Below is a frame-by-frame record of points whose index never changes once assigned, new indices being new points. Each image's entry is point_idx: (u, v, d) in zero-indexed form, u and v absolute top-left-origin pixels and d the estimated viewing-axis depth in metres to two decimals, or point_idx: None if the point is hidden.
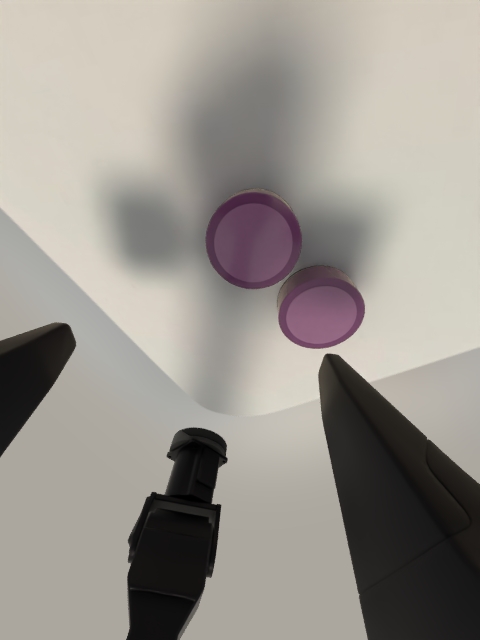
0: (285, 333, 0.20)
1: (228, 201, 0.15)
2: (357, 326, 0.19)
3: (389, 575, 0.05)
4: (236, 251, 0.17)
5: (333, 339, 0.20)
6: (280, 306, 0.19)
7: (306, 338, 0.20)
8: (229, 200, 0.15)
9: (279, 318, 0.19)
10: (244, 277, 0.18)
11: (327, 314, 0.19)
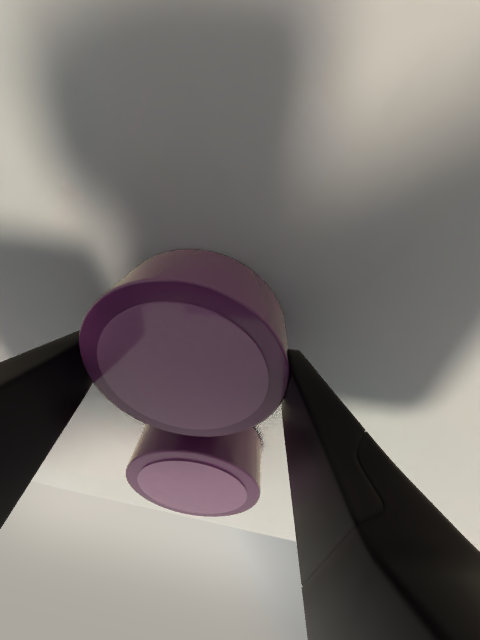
0: (128, 474, 0.11)
1: (209, 290, 0.06)
2: (222, 515, 0.13)
3: (320, 565, 0.05)
4: (146, 359, 0.07)
5: (184, 509, 0.13)
6: (150, 450, 0.10)
7: (152, 493, 0.12)
8: (213, 290, 0.06)
9: (135, 460, 0.11)
10: (126, 394, 0.08)
11: (202, 491, 0.12)
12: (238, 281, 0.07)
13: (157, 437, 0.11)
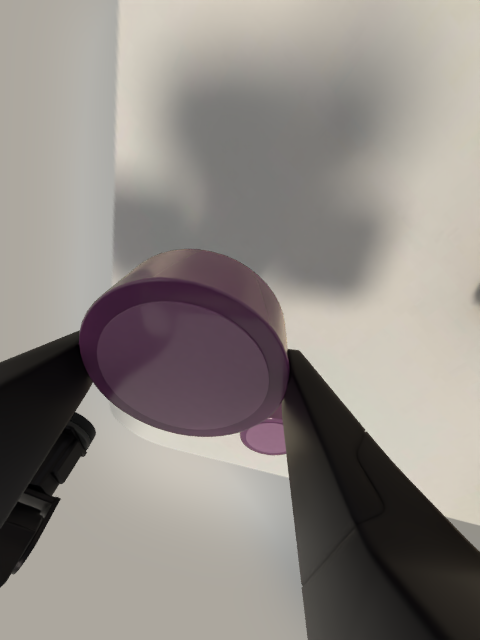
0: (242, 431, 0.25)
1: (209, 290, 0.06)
2: (282, 453, 0.26)
3: (320, 566, 0.05)
4: (146, 359, 0.07)
5: (263, 451, 0.26)
6: None
7: (251, 441, 0.25)
8: (213, 290, 0.06)
9: None
10: (126, 394, 0.08)
11: (276, 439, 0.25)
12: (238, 281, 0.07)
13: None
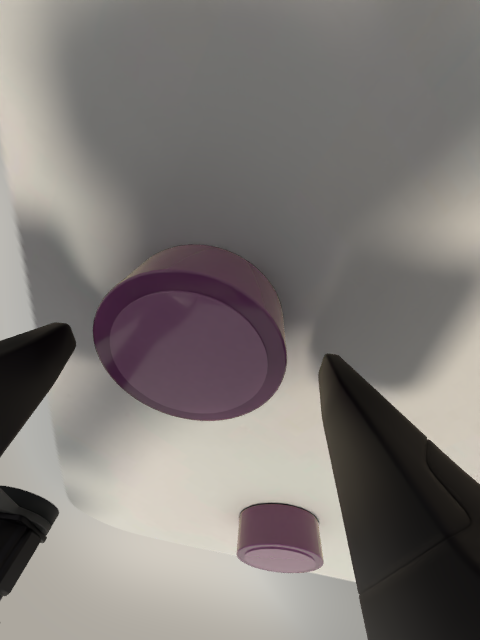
0: (239, 552, 0.18)
1: (214, 280, 0.06)
2: (293, 572, 0.20)
3: (389, 576, 0.05)
4: (155, 345, 0.08)
5: (267, 568, 0.20)
6: (260, 542, 0.17)
7: (251, 561, 0.19)
8: (217, 281, 0.06)
9: (249, 546, 0.17)
10: (135, 379, 0.09)
11: (285, 561, 0.18)
12: (240, 273, 0.07)
13: (262, 532, 0.17)
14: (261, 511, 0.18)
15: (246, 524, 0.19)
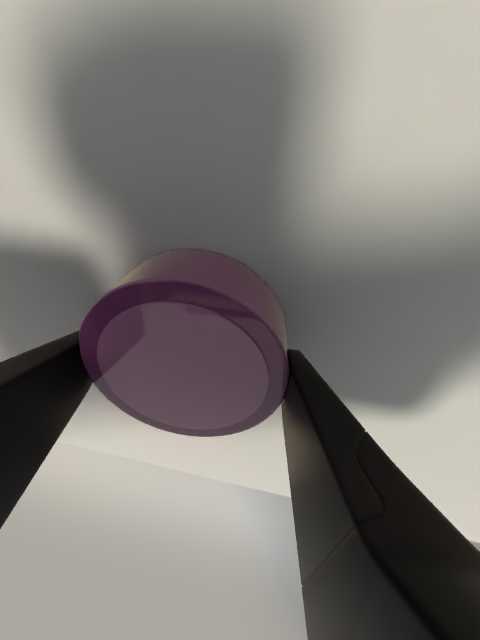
0: (83, 351, 0.07)
1: None
2: (229, 432, 0.09)
3: (320, 565, 0.05)
4: None
5: (172, 424, 0.09)
6: (112, 289, 0.06)
7: (124, 391, 0.08)
8: None
9: (89, 313, 0.07)
10: None
11: (199, 383, 0.08)
12: None
13: (125, 278, 0.07)
14: (142, 263, 0.08)
15: None
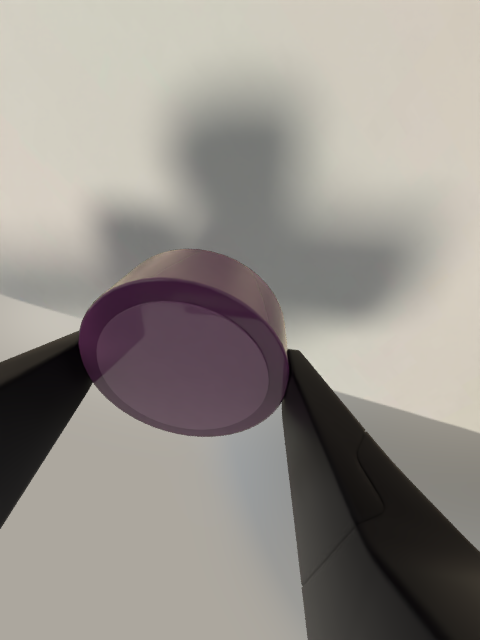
0: (82, 351, 0.07)
1: None
2: (228, 432, 0.09)
3: (320, 566, 0.05)
4: None
5: (172, 424, 0.09)
6: (112, 289, 0.06)
7: (123, 390, 0.08)
8: None
9: (89, 312, 0.07)
10: None
11: (199, 383, 0.08)
12: None
13: (125, 277, 0.07)
14: (142, 263, 0.08)
15: None
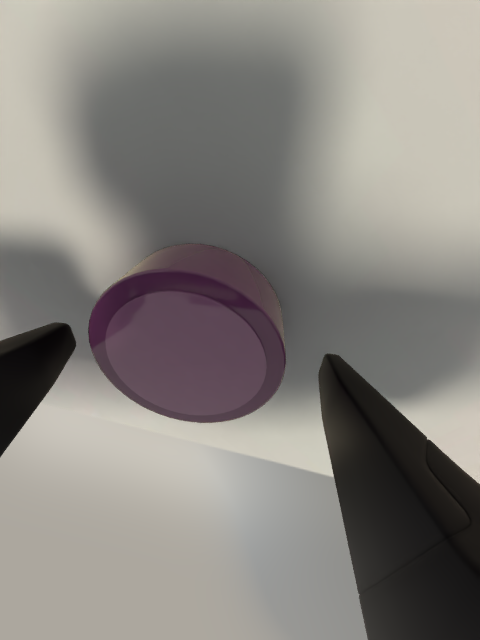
0: (92, 339, 0.08)
1: None
2: (229, 418, 0.09)
3: (389, 576, 0.05)
4: None
5: (175, 410, 0.09)
6: (121, 280, 0.07)
7: (130, 377, 0.09)
8: None
9: (99, 302, 0.07)
10: None
11: (201, 370, 0.08)
12: None
13: (133, 269, 0.07)
14: (148, 257, 0.08)
15: None
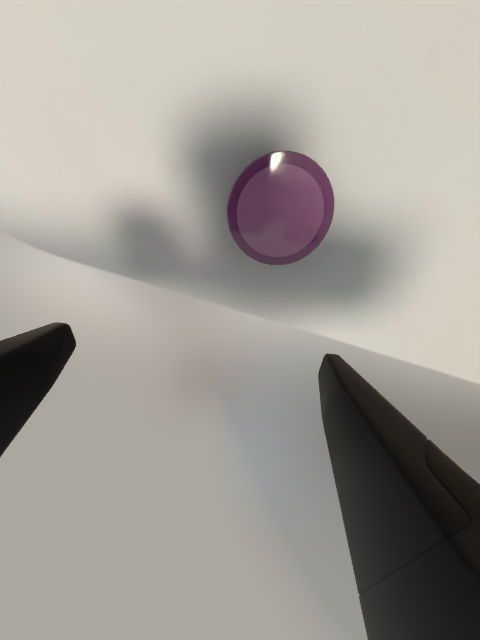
0: (230, 200, 0.15)
1: None
2: (296, 259, 0.16)
3: (388, 575, 0.05)
4: None
5: (265, 254, 0.16)
6: (256, 160, 0.14)
7: (245, 227, 0.15)
8: None
9: (242, 174, 0.14)
10: None
11: (286, 220, 0.15)
12: None
13: None
14: None
15: None
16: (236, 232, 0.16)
